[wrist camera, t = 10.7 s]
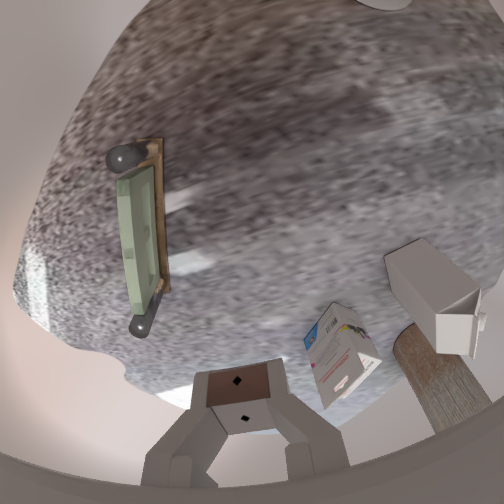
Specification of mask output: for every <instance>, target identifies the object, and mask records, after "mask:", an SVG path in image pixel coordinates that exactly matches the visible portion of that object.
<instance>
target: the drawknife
mask: <svg viewBox="0 0 504 504" xmlns="http://www.w3.org/2000/svg"><path fill="white" fill-rule="evenodd" d="M106 165H107V167H108V169H109V170H110V171H112V172H114V173H121V172H124V171H126V170H128V169H130V168H132V167H134V166H136V165H137V167H138V168H140V167H142V166H153V167H154V202H155V222H156V237H157V250H158V262H159V273H160V279H159V281H158V284H157V286H156V288H155V290H154V293H153V295H152V297H151V300H150V302H149V304H148V307H147V309H146V311H145V314H144V315H138V314H134V316H133V318H132V321H131V323H130V325H129V331H130V333H131V334H132V335H133V336H135V337H137V338H146V337H147V336H148V334H149V331H150V329H151V326H152V323H153V320H154V318H155V315H156V312H157V310H158V307H159V304H160V302H161V299H162V296H163V294H164V293H170V290H171V288H170V278H169V266H168V253H167V238H166V221H165V197H164V138H151V139H137V142H134V143H130V144H126V145H121V146H117V147H114V148H112V149H111V150H110V151H109V152H108V153H107V156H106Z"/></svg>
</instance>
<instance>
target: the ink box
mask: <svg viewBox="0 0 504 504" xmlns="http://www.w3.org/2000/svg"><path fill="white" fill-rule="evenodd" d="M304 342H305V346H306V349H307V353H308V356H309V360H310V363H311V367H312V370H313V374H314V378H315V381H316V385H317V388H318V392H319V393H320V396H321V399H322V403H323V406H324V409H325V410H327V409H328V408H329V407H330V406H331V405H332V404H333V403H334V402H335V401H336V400H338V399H339V398H343V399H345V398H346V397H347V396H348V395H349V394H350V393H351V392H352V391H353V390H354V389H355V388H356V387H357V386H358V385H359V384H360V383H361V382H362V381H363V380H364V379H365V378H366V377H367V376H368V375H369V374H370V373H371V372H372V371H373V370H374V369H375V368H376V367H377V366H378V365H379V364H380V363H381V362H382V359H381V357H380V355H379V354H378V352H377V350H376V348H375V346H374V344H373V342H372V341H371V339H370V337H369V335H368V333H367V331H366V330H365V328H364V326H363V324H362V322H361V321H360V319H359V317H358V315H357V314H356V312H355V311H354V310H351V309H349V308H346V307H344V306H342V305H339V304H337V303H332V304H331V306H330V307H329V308H328V310H327V311H326V312H325V314H324V315H323V316H322V317H321V319H320V320H319V321H318V323H317V324H316V325H315V326H314V328H313V329H312V330H311V332H310V333H309V334H308V335H307V337H306V338H305V339H304Z"/></svg>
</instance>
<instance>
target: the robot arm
mask: <svg viewBox="0 0 504 504" xmlns="http://www.w3.org/2000/svg"><path fill="white" fill-rule="evenodd" d="M357 1H359V2H361V3H363V4H365V5H367V6H370V7H373V8H377V9H381V10H399V9H402V8H405V7H406V6H408V5H409V4H410V3H411V2H412V1H413V0H357ZM274 428H276V429H277V430H278V431H279V432H280V433H281V434H282V435H283V436H284V437H285V438H286V439H287V441H288V442H289V443H290V444H289V445H288V446H287V447H286V448H285V454H286V463H287V471H288V480H287V481H281V482H274V483H266V484H259V485H249V486H238V487H223V488H218V484H217V483H216V482H215V481H214V480H213V479H212V478H211V477H209V475H208V474H207V473H206V471H207V470H208V468H209V467H210V465H211V463H212V462H213V460H214V459H215V457H216V456H217V454H218V452H219V451H220V449H221V448H222V446H223V444H224V443H225V441H226V439H227V438H228V435H233V434H240V433H246V432H252V431H260V430H267V429H274ZM0 504H504V396H503V397H501V398H500V399H498V400H496V401H495V402H493V403H492V404H490V405H489V406H487V407H485V408H484V409H482V410H480V411H479V412H477V413H475V414H473V415H472V416H470V417H468V418H466V419H465V420H463V421H461V422H459V423H457V424H455V425H453V426H451V427H449V428H447V429H445V430H443V431H441V432H439V433H437V434H435V435H433V436H431V437H429V438H426V439H424V440H422V441H420V442H417V443H415V444H413V445H410V446H408V447H405V448H403V449H400V450H398V451H395V452H393V453H390V454H387V455H384V456H381V457H378V458H375V459H372V460H369V461H367V462H363V463H360V464H356V465H353V466H350V464H349V460H348V456H347V453H346V450H345V446H344V442H343V439H342V435H341V432H340V431H339V430H338V429H336V428H335V427H334V426H333V425H331V424H330V423H329V422H327V421H326V420H325V419H323V418H322V417H321V416H320V415H318V414H317V413H316V412H315V411H313V410H312V409H311V408H310V407H308V406H307V405H306V404H305V403H303V402H302V401H301V400H300V399H298V398H297V397H296V396H295V395H294V394H291V393H290V389H289V385H288V380H287V376H286V372H285V368H284V364H283V360H282V358H278V359H273V360H269V361H264V362H259V363H254V364H249V365H244V366H239V367H234V368H227V369H220V370H212V371H207V372H198V373H196V374H195V376H194V383H193V391H192V398H191V406H190V409H189V410H186V411H185V412H184V413H183V414H182V415H181V416H180V417H179V419H178V420H177V421H176V422H175V423H174V424H173V425H172V426H171V428H170V429H169V430H168V431H167V432H166V433H165V434H164V436H162V437H161V439H160V440H159V441H158V442H157V443H156V444H155V445H154V446H153V447H152V449H151V450H150V451H149V452H148V453H147V454H146V457H145V463H144V468H143V473H142V479H141V485H140V486H138V485H128V484H120V483H113V482H106V481H100V480H95V479H90V478H84V477H80V476H76V475H71V474H67V473H62V472H59V471H55V470H51V469H48V468H45V467H41V466H38V465H35V464H31V463H29V462H26V461H23V460H20V459H17V458H14V457H12V456H9V455H6V454H4V453H1V452H0Z"/></svg>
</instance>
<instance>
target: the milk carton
mask: <svg viewBox="0 0 504 504" xmlns="http://www.w3.org/2000/svg"><path fill="white" fill-rule="evenodd" d="M384 259H385V264H386V268H387V273H388V277H389V282H390V287H391V291H392V293H393V294H394V295H395V297H396V298H397V299H398V301H399V302H400V303H401V305H402V306H403V307H404V308H405V310H406V311H407V312H408V314H409V315H410V316H411V318H412V319H413V320H414V322H415V323H416V325H417V326H418V327H419V329H420V330H421V331H422V333H423V334H424V336H425V337H426V338H427V340H428V341H429V343H430V344H431V345H432V347H433V348H434V350H435V351H436V353H443V354H459V355H469V356H470V357H471V358H472V360H474V359H475V353H476V347H477V340H478V332H479V331H483V330H484V327H485V322H486V315H487V314H486V313H482V312H480V298H481V286H480V285H479V284H478V283H477V282H475V281H474V280H473V279H472V278H471V277H470V276H469V275H467V274H466V273H465V272H464V271H463V270H462V269H460V268H459V267H458V266H457V265H456V264H454V263H453V262H452V261H451V260H449V259H448V258H447V257H446V256H445V255H443V254H442V253H441V252H440V251H438V250H437V249H436V248H434V247H433V246H432V245H431V244H429V243H428V242H427V241H425V240H424V239H423V238H421V239H419V240H417V241H415V242H413V243H411V244H408V245H406V246H404V247H402V248H400V249H398V250H396V251H394V252H392V253H390V254H388V255H386V256H384Z"/></svg>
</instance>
